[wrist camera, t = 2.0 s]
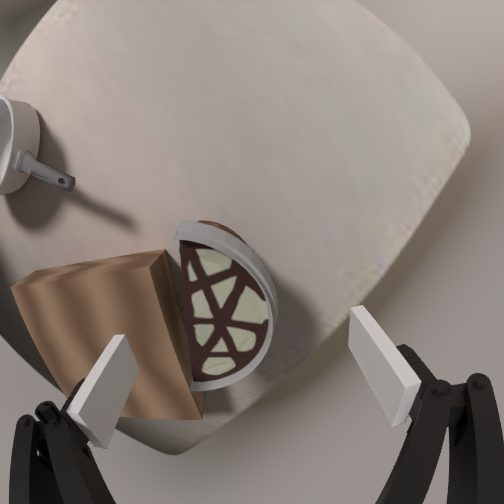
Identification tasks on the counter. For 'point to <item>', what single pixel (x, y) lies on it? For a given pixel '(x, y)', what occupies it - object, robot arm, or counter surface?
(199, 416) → the walnut base
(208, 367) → the food container
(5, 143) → the saucepan
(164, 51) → the counter surface
